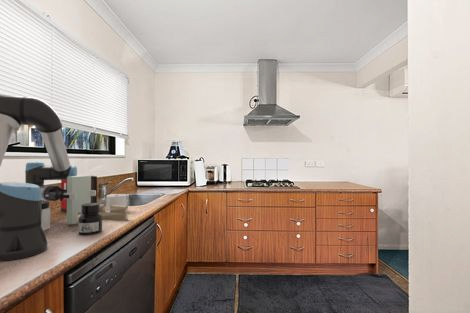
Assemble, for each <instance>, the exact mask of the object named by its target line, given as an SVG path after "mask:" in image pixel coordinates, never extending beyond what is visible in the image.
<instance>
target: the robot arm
mask: <svg viewBox="0 0 470 313" xmlns="http://www.w3.org/2000/svg"><path fill="white" fill-rule="evenodd" d="M22 125H24V126H34V127H35V129H36V131H38V132H39V133H40V134H41V137H42V141H43V143H44V146H45V149H46V152H47V154H48V158H49V160H50V163H51V165H46V164H45V162H43V161H28V162H27V163H25V171H24V172H25V173H24V174H25V180H24V182H19V181H18V182H15V181H14V182H9V181H8V182H7V181H6V182H0V262H5V261H6V262H7V261H14V260H20V259H26V258H29V257H33V256H34V255H39V254H41V253H43V252H44V251H46V250H47V249H48V239H47V238H46V235H45V234H46V233H45V232H44V231H43V229H42V226H41V214H42V201H48V202H57V201H60V202H61V201H63V198H64V199H70V200H76V199H77V194H73V193H67V190H65V189H61V186H58V185H45V181H61V180H67V177H72V176H78V168H77V166H76V165H71V162H70V159H69V155H68V152H67V148H66V143H65V141H64V138H63V133H62V130H61V129H62V127H63V124H62V120H61V118H60V116H59V114H58V113H57V111H56V110H55V109H54V108H53V107H52V106H51V105H50V104H48V103H47V102H46V101H44V100H42V99H40V98H37V97H33V96H19V95H6V94H0V167H1V166H2V163H3V160H4V157H5V155H6V152H7V151H8V150H7V149H8V146H9V144H10V141H11V139H12V137H13V134H14V133H16V132H18V131H19V130H20V129H21V126H22ZM91 196H96V191H95V190H91Z"/></svg>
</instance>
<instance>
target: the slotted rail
mask: <svg viewBox="0 0 470 313" xmlns="http://www.w3.org/2000/svg"><path fill="white" fill-rule="evenodd" d="M128 207H129V206H128V205H126V206H121V205H112V206H110V211H106V204H105V203H104V204H102V203H100V212H99V214H100V215H102V220H109V221H110V220H112V221H127V220H128V219H129V218H128V217H129V216H128V215H129V214H128V211H129V210H128V209H129V208H128Z"/></svg>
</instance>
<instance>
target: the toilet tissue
mask: <svg viewBox="0 0 470 313" xmlns="http://www.w3.org/2000/svg"><path fill="white" fill-rule="evenodd" d="M105 198H106V199H105V211H110V206H112V205H121V206H127V194H126V193H125V194H124V193H110V194H107V195H106V196H105Z"/></svg>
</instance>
